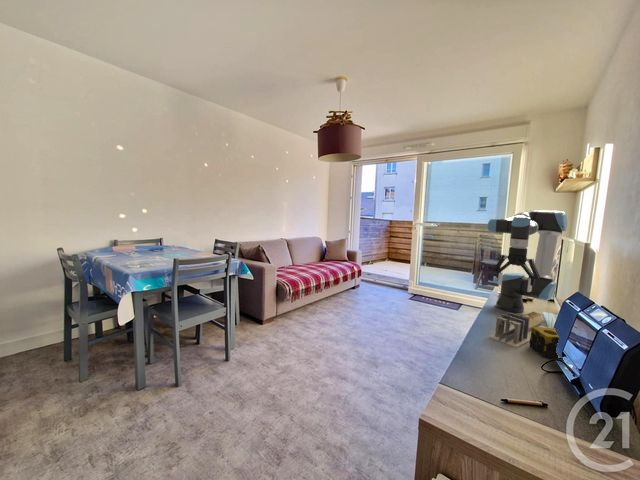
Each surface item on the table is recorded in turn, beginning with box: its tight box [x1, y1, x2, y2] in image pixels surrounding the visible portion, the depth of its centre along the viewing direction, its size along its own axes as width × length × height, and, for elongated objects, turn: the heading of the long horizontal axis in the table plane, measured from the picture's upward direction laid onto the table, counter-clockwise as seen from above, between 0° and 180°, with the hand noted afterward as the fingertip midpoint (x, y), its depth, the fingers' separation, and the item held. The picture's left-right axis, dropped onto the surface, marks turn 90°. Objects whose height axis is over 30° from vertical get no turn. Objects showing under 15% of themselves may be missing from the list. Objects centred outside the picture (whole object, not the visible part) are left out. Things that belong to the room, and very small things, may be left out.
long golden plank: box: [513, 311, 544, 330], centre depth 145 cm, size 22×4×4 cm, turn 123°
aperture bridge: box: [494, 316, 521, 344], centre depth 132 cm, size 2×9×10 cm, turn 33°
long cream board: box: [489, 322, 548, 349], centre depth 141 cm, size 40×12×3 cm, turn 123°
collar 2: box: [504, 311, 530, 339], centre depth 137 cm, size 1×10×11 cm, turn 33°
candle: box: [528, 326, 559, 359], centre depth 121 cm, size 10×10×10 cm
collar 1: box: [500, 313, 524, 342], centre depth 134 cm, size 1×10×11 cm, turn 33°
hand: (513, 288), depth 142 cm, fingers open, 13 cm apart
